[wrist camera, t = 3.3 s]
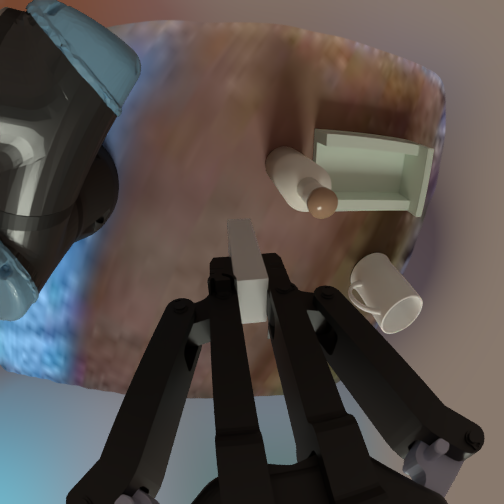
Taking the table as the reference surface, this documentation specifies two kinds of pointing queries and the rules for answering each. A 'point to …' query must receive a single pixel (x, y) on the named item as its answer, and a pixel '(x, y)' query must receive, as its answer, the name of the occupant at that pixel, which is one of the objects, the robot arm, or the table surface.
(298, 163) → the bottle
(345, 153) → the cradle
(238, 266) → the robot arm
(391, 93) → the table surface
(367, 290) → the mug
